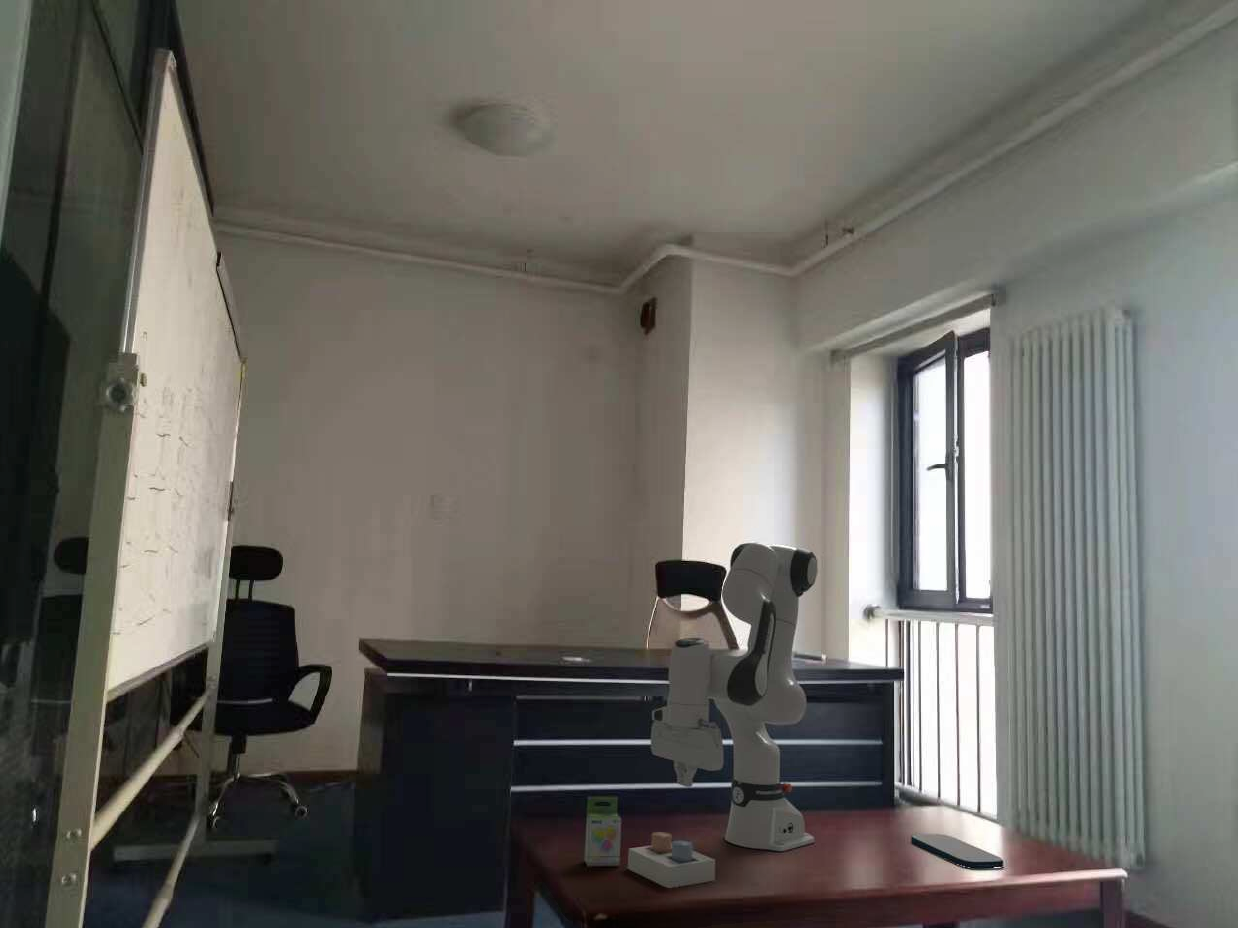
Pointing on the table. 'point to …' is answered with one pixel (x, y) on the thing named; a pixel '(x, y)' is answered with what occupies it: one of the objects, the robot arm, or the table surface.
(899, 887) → the table surface
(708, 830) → the table surface
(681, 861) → the grey piece
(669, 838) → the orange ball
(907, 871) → the table surface
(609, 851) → the ink box
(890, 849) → the table surface
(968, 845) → the external hard drive
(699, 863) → the white flat block
